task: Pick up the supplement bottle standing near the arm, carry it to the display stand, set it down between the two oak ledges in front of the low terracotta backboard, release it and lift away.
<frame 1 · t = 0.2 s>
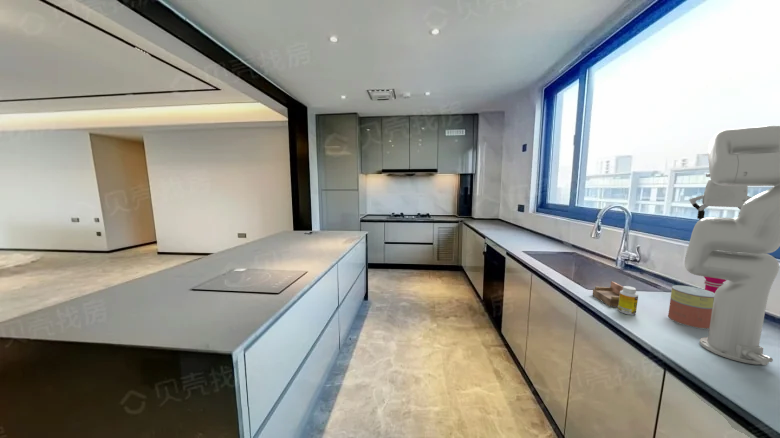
hand: (720, 221, 103), 37 cm above the counter, tool pointing down, fingers open, 9 cm apart
canned food: (689, 321, 102), on the counter
display stand: (610, 301, 120), on the counter
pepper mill: (709, 315, 107), on the counter
supplement bottle: (626, 312, 109), on the counter
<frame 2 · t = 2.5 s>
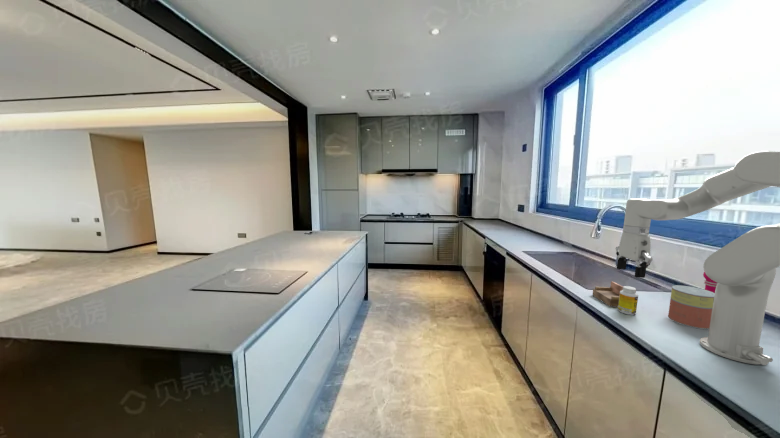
hand: (629, 273, 107), 16 cm above the counter, tool pointing down, fingers open, 9 cm apart
nothing on the counter moved.
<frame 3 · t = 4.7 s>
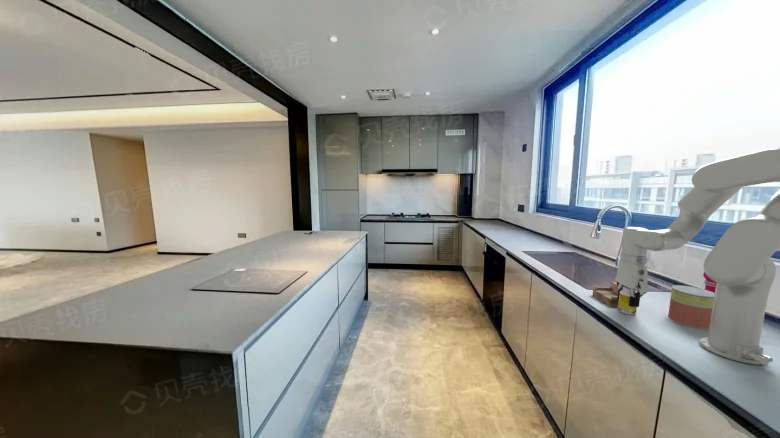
hand: (627, 302, 108), 4 cm above the counter, tool pointing down, fingers closed on supplement bottle, 5 cm apart
supplement bottle: (626, 312, 109), on the counter, touching gripper
everything else where it was.
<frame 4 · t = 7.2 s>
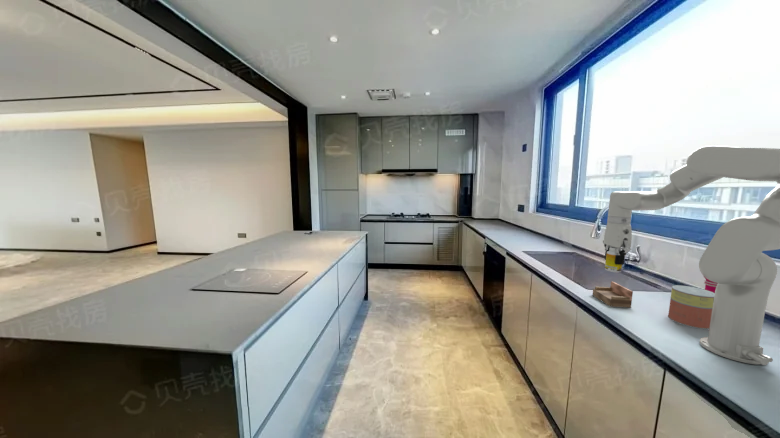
hand: (613, 261, 117), 18 cm above the counter, tool pointing down, fingers closed on supplement bottle, 5 cm apart
supplement bottle: (612, 271, 118), point 14 cm above the counter, touching gripper
everything else where it was.
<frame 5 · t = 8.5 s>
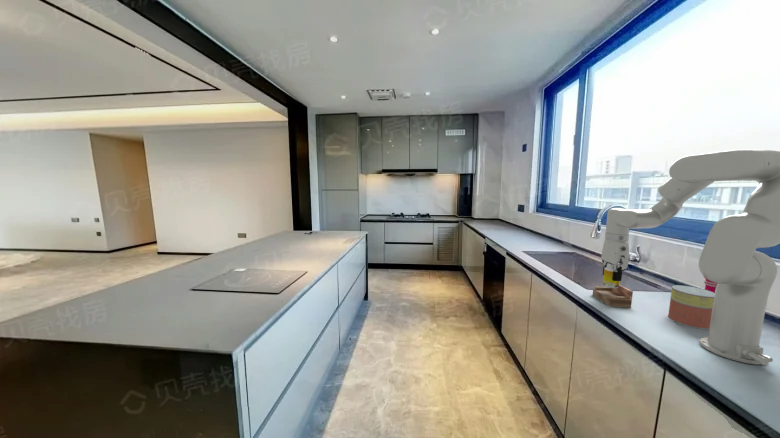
hand: (611, 277, 119), 11 cm above the counter, tool pointing down, fingers closed on supplement bottle, 5 cm apart
supplement bottle: (610, 287, 119), point 6 cm above the counter, touching gripper
everything else where it was.
when the fingers open (9 cm above the counter, at t = 9.6 s): supplement bottle drops 2 cm, resting on display stand.
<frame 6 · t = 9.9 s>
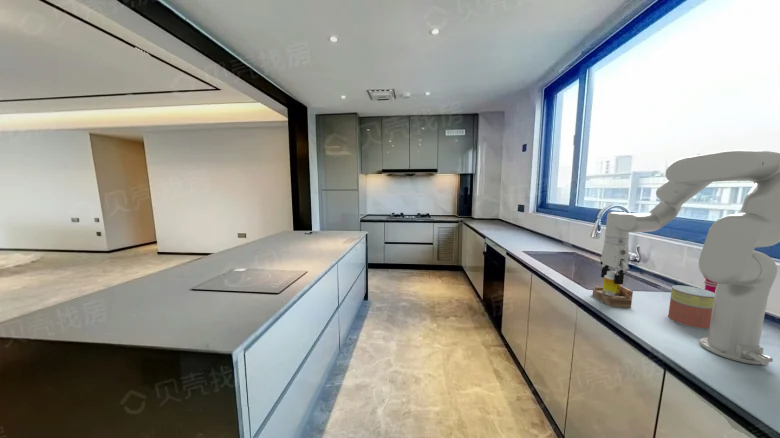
hand: (611, 280, 119), 9 cm above the counter, tool pointing down, fingers open, 7 cm apart
supplement bottle: (610, 295, 119), point 3 cm above the counter, touching display stand
everything else where it was.
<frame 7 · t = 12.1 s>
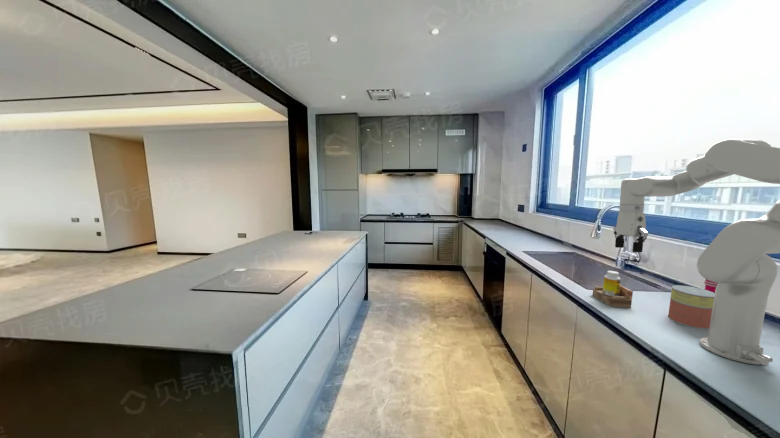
hand: (628, 249, 113), 24 cm above the counter, tool pointing down, fingers open, 9 cm apart
nothing on the counter moved.
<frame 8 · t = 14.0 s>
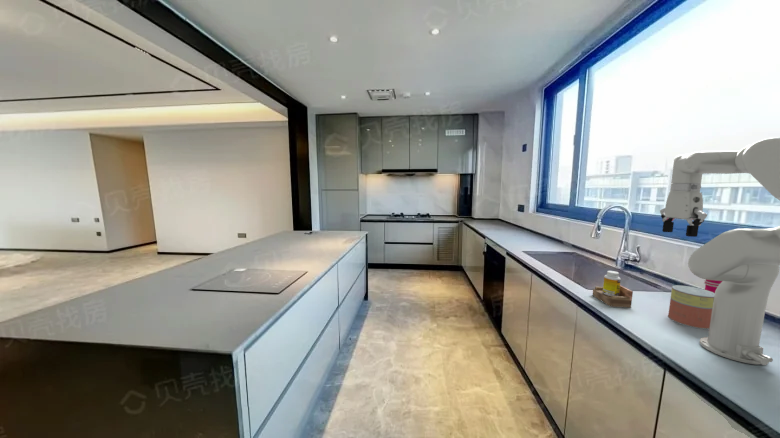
hand: (678, 234, 102), 32 cm above the counter, tool pointing down, fingers open, 9 cm apart
nothing on the counter moved.
at the end: supplement bottle 0.3 cm off-centre on the display stand, point 2.8 cm above the display stand's base; supplement bottle tilted 0°; the gripper is holding nothing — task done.
